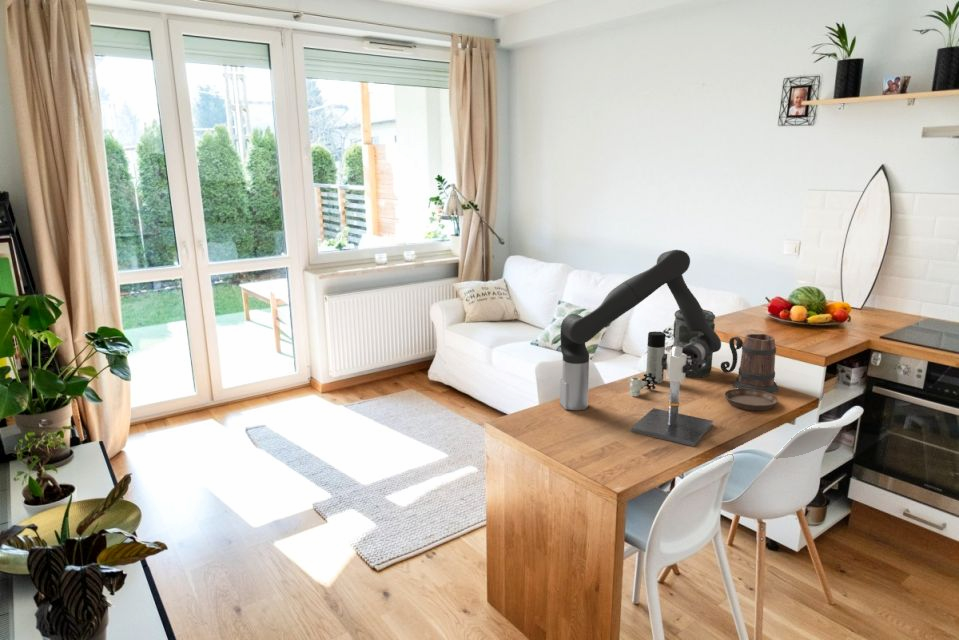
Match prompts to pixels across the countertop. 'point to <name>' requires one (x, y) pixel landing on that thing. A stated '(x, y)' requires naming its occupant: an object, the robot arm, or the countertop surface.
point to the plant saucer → (751, 399)
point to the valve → (641, 384)
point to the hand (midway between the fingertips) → (674, 368)
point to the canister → (684, 337)
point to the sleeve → (675, 367)
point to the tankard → (754, 362)
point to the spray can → (655, 355)
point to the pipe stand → (673, 419)
